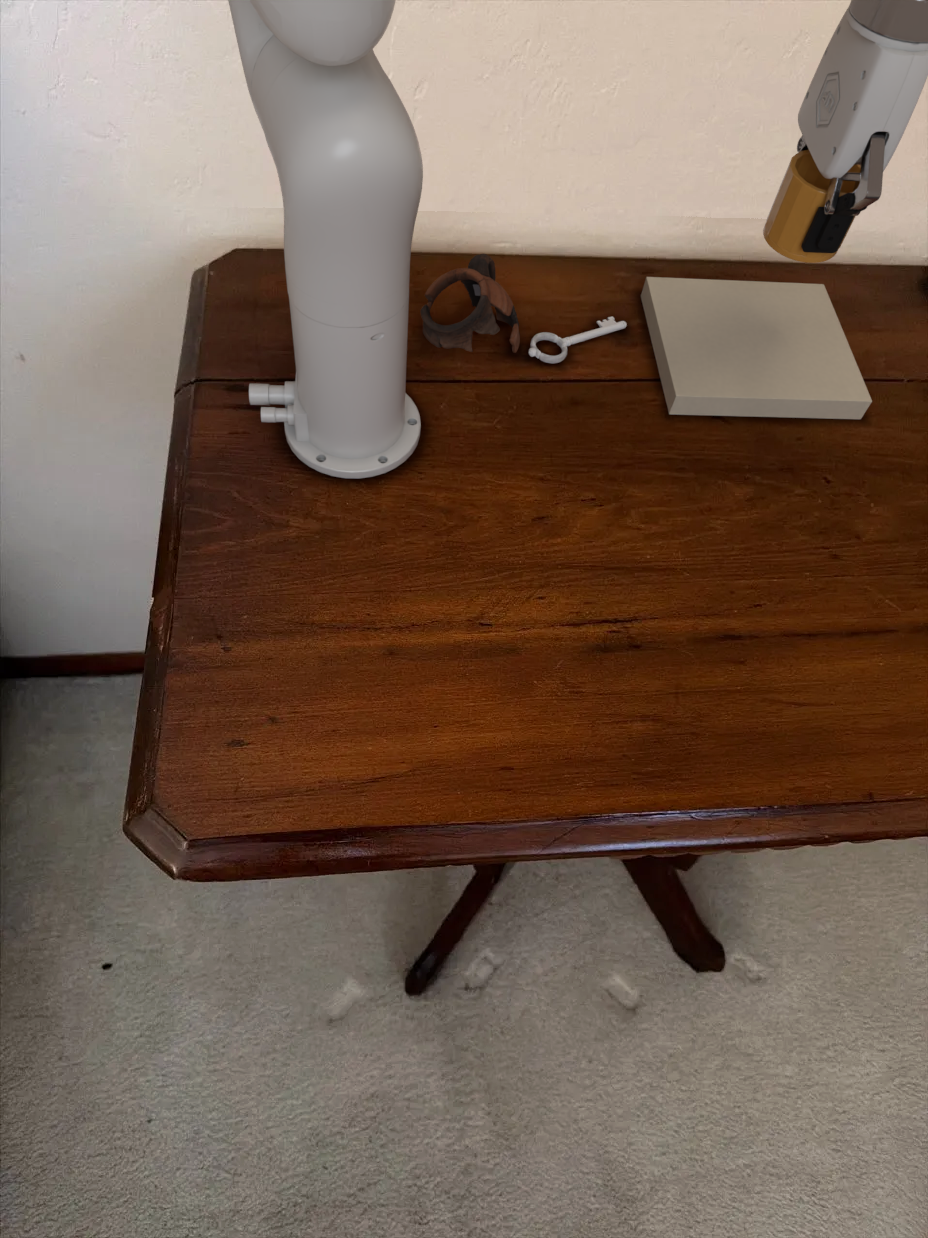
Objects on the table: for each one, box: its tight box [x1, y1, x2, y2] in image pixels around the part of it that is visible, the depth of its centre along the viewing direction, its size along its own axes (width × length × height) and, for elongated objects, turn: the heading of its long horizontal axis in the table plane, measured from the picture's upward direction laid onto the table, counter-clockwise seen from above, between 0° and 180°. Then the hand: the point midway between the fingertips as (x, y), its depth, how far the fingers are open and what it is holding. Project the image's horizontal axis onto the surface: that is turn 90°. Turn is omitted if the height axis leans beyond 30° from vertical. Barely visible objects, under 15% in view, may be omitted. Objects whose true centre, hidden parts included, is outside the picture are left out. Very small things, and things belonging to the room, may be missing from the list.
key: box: [527, 316, 628, 365], centre depth 91 cm, size 12×1×4 cm
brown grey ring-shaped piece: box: [419, 253, 521, 354], centre depth 89 cm, size 12×10×8 cm
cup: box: [762, 150, 861, 264], centre depth 79 cm, size 7×7×6 cm
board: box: [640, 276, 873, 420], centre depth 92 cm, size 20×18×2 cm
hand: (807, 222), depth 80 cm, fingers closed on cup, 7 cm apart
